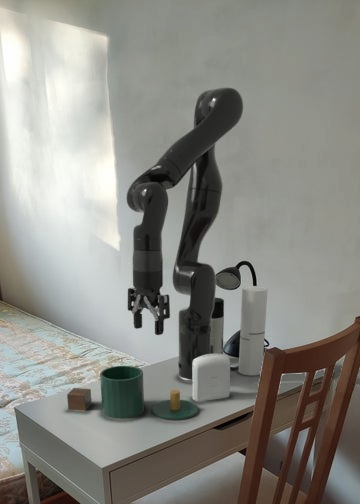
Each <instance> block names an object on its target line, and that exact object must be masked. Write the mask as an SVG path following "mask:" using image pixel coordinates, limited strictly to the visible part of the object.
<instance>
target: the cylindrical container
mask: <svg viewBox="0 0 360 504" xmlns="http://www.w3.org/2000/svg"><path fill="white" fill-rule="evenodd" d="M267 303H268V287H266V286H258V285H249V286H243V287H242V288H241V307H240V332H239V336H240V337H239V353H238V366H239V369H238V373H240V374H242V375H244V376H258V375H261V374H260V371H261V366H262V361H263V360H264V353H265V351H264V350H265V335H266V320H267V306H268V305H267Z"/></svg>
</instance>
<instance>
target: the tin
mask: <svg viewBox="0 0 360 504" xmlns="http://www.w3.org/2000/svg"><path fill="white" fill-rule="evenodd" d="M99 380H100V381H99V383H100V394H101V408H102V409H101V410H102V414H103V415H104V416H106V417H108V418H112V419H116V420H117V419H118V420H123V419H126V420H127V419H133V418H135V417H138V416H140V415H142V414H143V413H144V412H145V393H144V390H145V389H144V370H142V369H141V368H139V367H138V366H137V367H136V366H131V365H115V366H110V367H106V368H104V369H103V370H101V371H100V372H99Z"/></svg>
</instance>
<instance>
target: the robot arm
mask: <svg viewBox="0 0 360 504" xmlns="http://www.w3.org/2000/svg"><path fill="white" fill-rule="evenodd" d="M243 112H244V101H243V97H242V96H241V93H240V92H239V91H238V90H236V89H235V88H233V87H219V88H214V89H207V90H204V91H203V92H201V93H200V94H199V96H198V97H197V99H196V102H195V106H194V114H193V128H192V129H191V130H189V131H188V132H187V133H186V134H184V135H183V136H181V137H180V138H178V139H177V140H176V141H174V142H173V143H172V144H171V145H170V146H169V147H168V148H167V149H166V150H165V152H163V154H162V155H161V156H160V157H159V159H158V160H157V161H156V163H155V164H154V165H152V166H151V167H150V168H148V169H147V170H146V171H144V172H143V173H142V174H140V175H139V176H138V177H137V178H136V179H134V180H133V181H132V183H130V185H129V187H128V189H127V192H126V198H125V199H126V203H127V206H128V208H129V209H130V210H131V211H133V212H136V213H139V214H143V215H142V220H141V223H138V224H135V226H133V231H132V241H133V242H132V286H133V287H129V288H127V311H128V312H131V314H132V317H133V327H134V329H136V330H138V329H142V328H143V313H142V312H143V310H144V309H146V310H149V312H150V313H149V314H152V315H153V318H154V335H157V336H161V335H163V334H164V331H165V320H168V319H170V318H171V307H170V306H171V305H170V303H171V301H170V295H169V294H161V289H162V287H163V286H164V268H163V267H164V259H163V238H162V237H163V235H162V234H163V229H164V225H165V221H166V216H167V213H168V208H169V195H168V191H167V190H171V189H174V188H175V187H176V186H177V185H179V183H180V182H181V181H182V180H183V179H184V177H185V176H186V175H187V174H188V172H189V177H188V183H187V188H186V196H185V205H184V207H185V208H184V214H183V220H182V221H183V222H182V225H181V234H180V239H179V244H178V248H177V253H176V257H175V261H174V265H173V270H172V286H173V287H174V290H175V291H176V292H177V293H178V294H181V295H185V296H188V297H189V305H188V306H185V307H183V308H181V309H180V310H179V311H178V362H177V363H178V364H177V365H178V366H177V367H178V375H177V376H178V378H179V379H180V380H182V381H185V382H191V383H192V363H193V360H194V359H196V358H197V357H200V356H203V355H206V354H213V345H211V316H212V313H213V310H214V304H215V298H216V288H217V276H216V271H215V269H214V267H213V266H212V265H211V264H209V263H207V262H200V261H199V256H200V250H201V247H202V243H203V241H204V239H205V237H206V235H207V234H208V233H209V231H210V229H211V228H212V226H213V225H214V224H215V222H216V220H217V218H218V216H219V214H220V209H221V205H222V204H221V203H222V197H223V192H224V191H223V190H224V188H223V187H224V185H223V179H222V175H221V172H220V169H219V166H218V162H217V159H216V143H217V142H218V141H220V139H221V138H223V137H224V136H225V135H226V134H227V133H229V132H230V131H231V130H233V128H235V127H236V126H237V124H238V123H239V122H240V121H241V118H242V116H243ZM236 370H239V365H238V366H230V371H236ZM282 464H283V465H284V460H281V461H280V462H279V473H280V470H281V467H282V468H283V466H282ZM279 473H278V474H279Z"/></svg>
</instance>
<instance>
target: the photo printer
mask: <svg viewBox="0 0 360 504" xmlns="http://www.w3.org/2000/svg"><path fill="white" fill-rule="evenodd" d="M230 367H231V359H230V356H228V355H227V354H224V353H223V354H217V353H215V354H206V355H203V356H200V357H197V358H196V359H194V360H193V363H192V382H191V383H192V400H193V401H196V402H206V401H213V400H214V401H215V400H219V399H225V398H229V397H230V394H231V393H230V389H231V370H230Z"/></svg>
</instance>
